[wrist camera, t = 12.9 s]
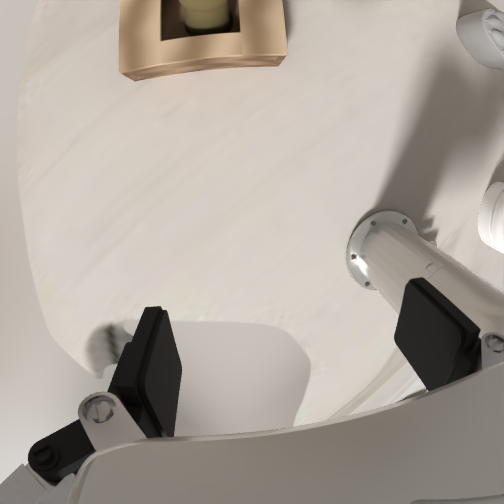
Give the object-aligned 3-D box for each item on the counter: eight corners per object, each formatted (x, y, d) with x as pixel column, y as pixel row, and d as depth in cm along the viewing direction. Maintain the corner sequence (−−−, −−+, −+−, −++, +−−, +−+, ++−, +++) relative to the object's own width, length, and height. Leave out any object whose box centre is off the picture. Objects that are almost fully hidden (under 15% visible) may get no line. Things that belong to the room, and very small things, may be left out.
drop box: (269, -20, 26) (276, -41, 20) (278, 66, 31) (287, 53, 25) (135, -5, 25) (123, -24, 19) (134, 81, 30) (119, 72, 24)
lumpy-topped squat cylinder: (502, 73, 31) (534, 72, 23) (462, 57, 30) (496, 51, 22) (492, 27, 27) (521, 21, 19) (449, 6, 26) (480, -5, 18)
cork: (176, 16, 26) (159, -24, 16) (220, -4, 26) (219, -47, 16) (197, 49, 29) (185, 16, 19) (241, 29, 28) (248, -9, 18)
